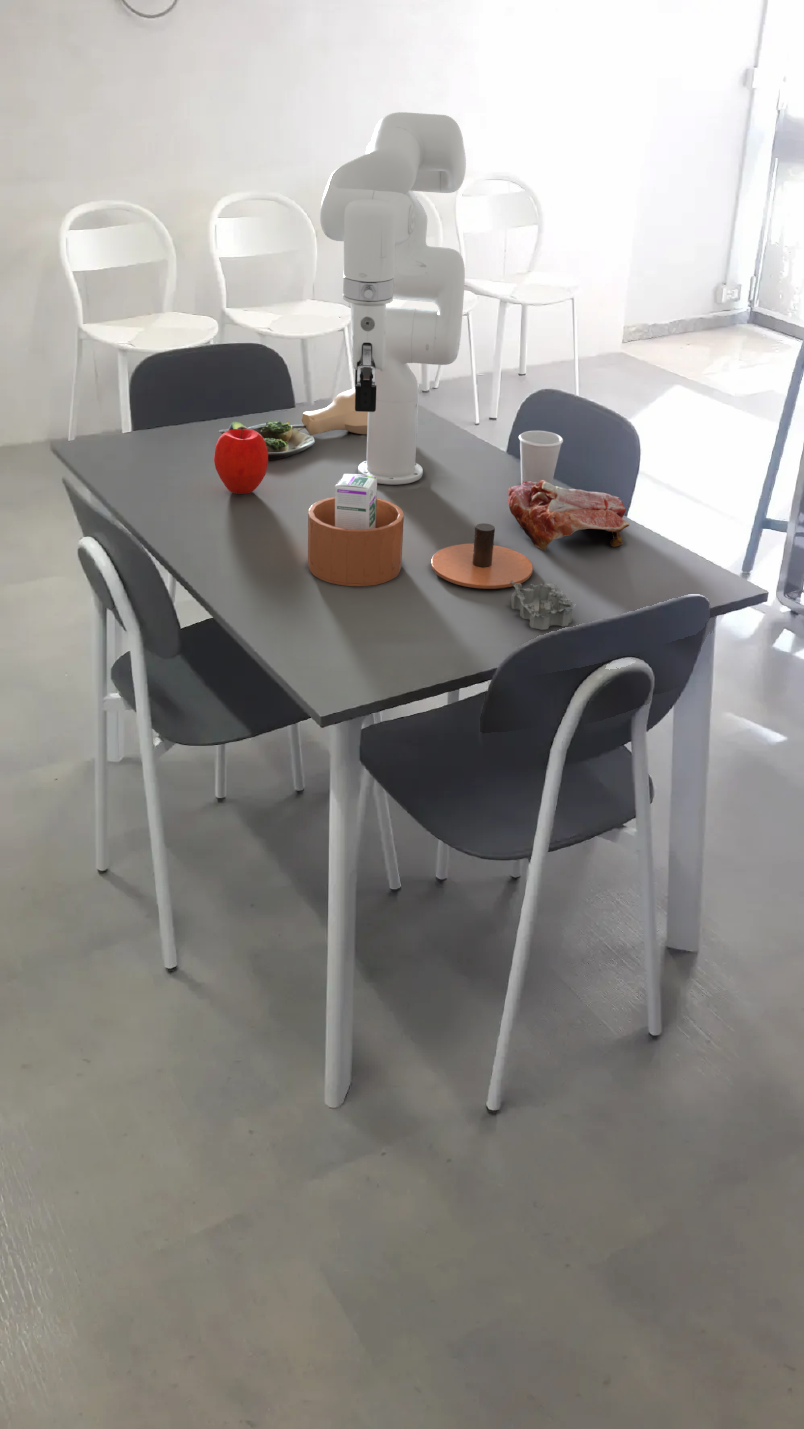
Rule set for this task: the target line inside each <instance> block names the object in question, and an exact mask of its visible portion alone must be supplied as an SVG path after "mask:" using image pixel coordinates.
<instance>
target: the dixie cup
mask: <svg viewBox="0 0 804 1429" xmlns="http://www.w3.org/2000/svg"><path fill="white" fill-rule="evenodd" d="M518 439H519V450H520V452H519V454H520V485H522V483H523V481H524V482H525V481H527V482H528V481H531V482H535V483H538V482H539V481H540V480H545V481H546V482H548V483H551V484H553V480H554V476H555V472H556V468H557V463H558V459H559V456H560V451H561V447H562V444H563V443H564V439H563V437H562V436H561V435H559V434H557V433H555V432H552V431H547V430H528V431H524V432H522V433H520V434H519V435H518Z"/></svg>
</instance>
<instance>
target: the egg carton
mask: <svg viewBox="0 0 804 1429" xmlns="http://www.w3.org/2000/svg"><path fill="white" fill-rule="evenodd" d="M510 583H511V584H513V585H514V586H513V587H514V588H515V590H514V592H513V593H511V597H510V606H511V608H512V609H513V610H519V617H521V618H522V619H525V620H529V626H530V628H531V629H538V630H542V631H545V630H549V627H551V626H560V627H568V626H569V624H571V623H572V619H573V612H574V611H573V608H575V607H577V604H575V603H574V602H573V601H571V599H569V596H568V595H566V594H565V593H564V592H563V591H562V590H561V589H560V588H559V586H558V585H557V584H556V583H554V582H547V583H541V582H539V584H537V585H534V584H533V583H530V584H529V586H528V588H523V586H522V585H523V583H516V584H515V583H514V582H513V581H511V582H510Z"/></svg>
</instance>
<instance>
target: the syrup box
mask: <svg viewBox="0 0 804 1429" xmlns="http://www.w3.org/2000/svg"><path fill="white" fill-rule="evenodd" d="M377 496H378V483H377V478H376V477H373V476H368V475H361V474H359V473H343V475H342V476H341V478H340V479H339V480H338V481H337V483H336V484H335V485H334V497H335V527H339V528H345V529H361V530H364V529H373V528H376V512H377V498H378V497H377Z"/></svg>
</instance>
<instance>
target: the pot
mask: <svg viewBox="0 0 804 1429" xmlns="http://www.w3.org/2000/svg"><path fill="white" fill-rule="evenodd" d="M404 519H405V514H404V512H403V510H402V508H401V507H399V506H398V505H397V504H395V503H393V502H391V501H389V500H385V499H383V498H380V497H377V512H376V528H373V529H364V530H361V529H345V528H339V527H335V496H330V497H327V498H324V499H320V500H318V501H316V502H315V503H313V504H312V505H311V506H310V507H309V509H308V511H307V565H308V569H309V571H310V573H311V574H312V575H313V576H315V578H318V579H319V580H321V581H323V582H327V583H329V584H333V585H339V586H344V587H369V586H376V585H381V584H384V583H387V582H390V581H391V580H393V579H395V578H397V577H398V575H399V574H400V572H401V568H402V560H403V540H404Z"/></svg>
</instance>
